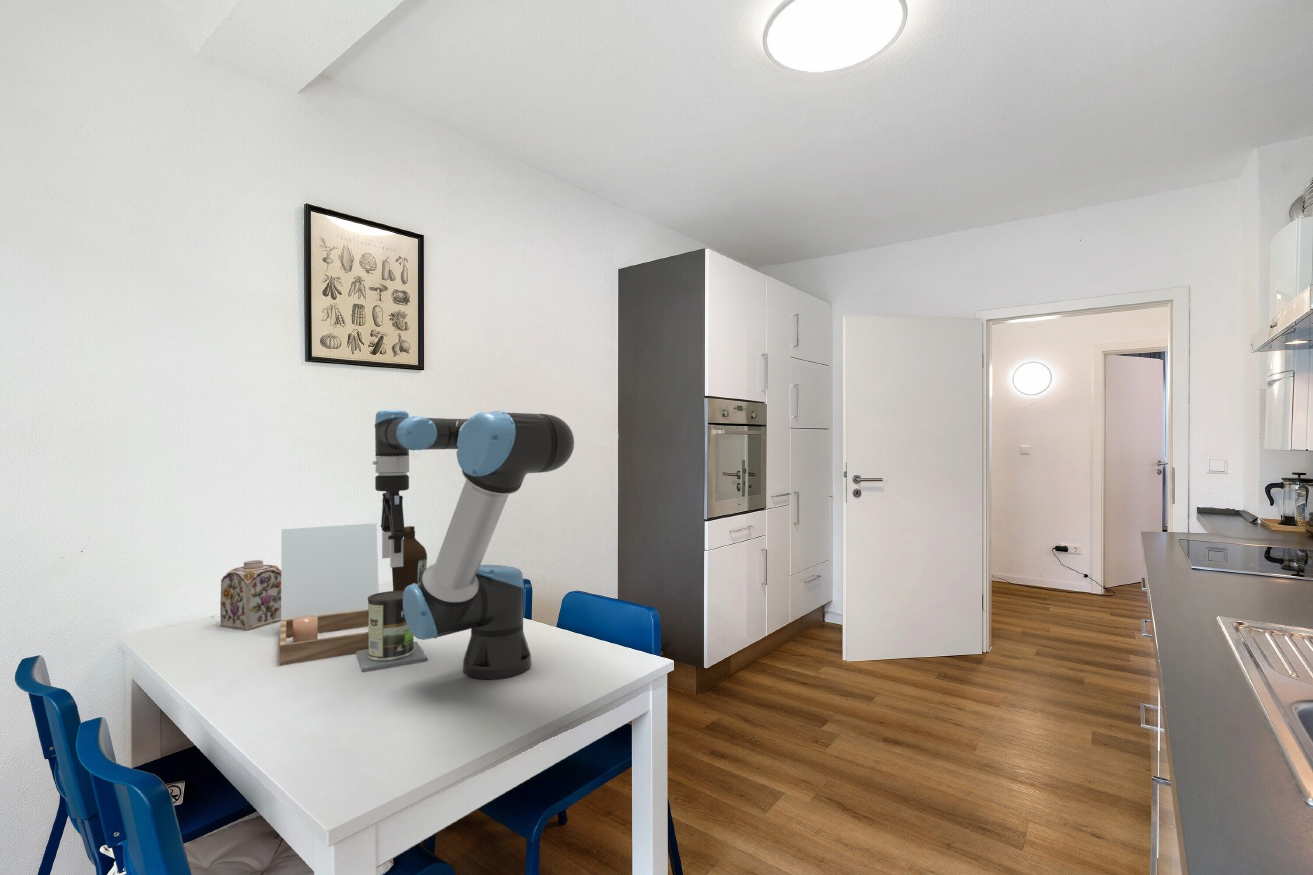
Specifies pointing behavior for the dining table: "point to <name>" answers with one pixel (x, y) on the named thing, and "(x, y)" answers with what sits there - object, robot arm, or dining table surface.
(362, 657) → the plate
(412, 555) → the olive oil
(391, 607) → the coffee can
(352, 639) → the open wooden box
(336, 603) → the pale grey square panel
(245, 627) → the decorative jar
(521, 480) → the robot arm
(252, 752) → the dining table surface
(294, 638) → the pink pillar candle
